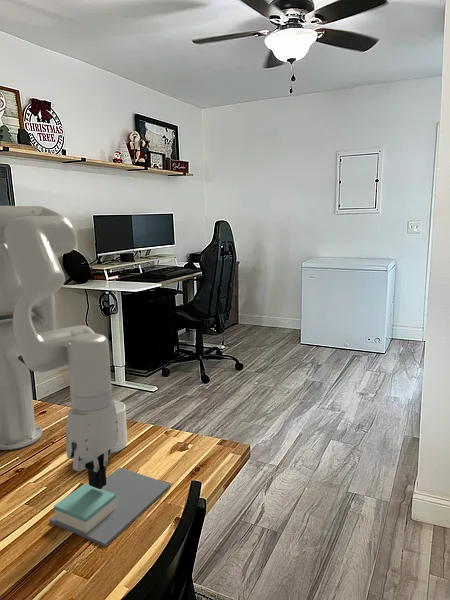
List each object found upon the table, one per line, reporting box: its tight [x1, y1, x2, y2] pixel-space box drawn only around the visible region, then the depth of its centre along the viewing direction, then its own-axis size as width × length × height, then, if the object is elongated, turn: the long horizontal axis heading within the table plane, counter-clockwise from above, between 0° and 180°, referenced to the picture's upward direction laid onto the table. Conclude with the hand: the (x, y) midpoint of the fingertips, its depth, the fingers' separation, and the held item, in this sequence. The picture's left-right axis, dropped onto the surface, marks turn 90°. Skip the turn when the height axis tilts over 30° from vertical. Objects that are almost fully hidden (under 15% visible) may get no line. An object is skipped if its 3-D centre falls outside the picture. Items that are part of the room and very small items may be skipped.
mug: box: [110, 400, 128, 454], centre depth 112 cm, size 12×8×10 cm
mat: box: [49, 467, 172, 547], centre depth 92 cm, size 14×20×1 cm
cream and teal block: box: [53, 482, 116, 533], centre depth 88 cm, size 8×3×8 cm
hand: (97, 485), depth 90 cm, fingers closed
